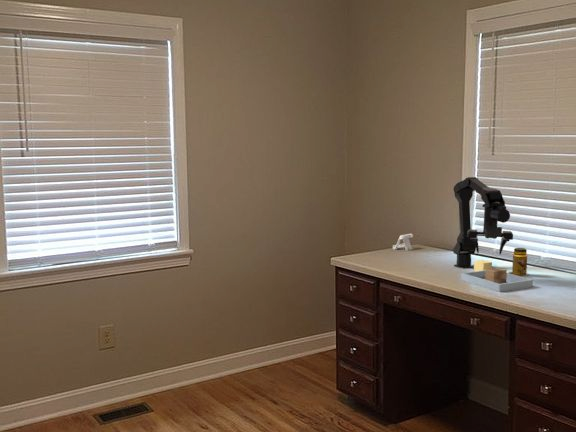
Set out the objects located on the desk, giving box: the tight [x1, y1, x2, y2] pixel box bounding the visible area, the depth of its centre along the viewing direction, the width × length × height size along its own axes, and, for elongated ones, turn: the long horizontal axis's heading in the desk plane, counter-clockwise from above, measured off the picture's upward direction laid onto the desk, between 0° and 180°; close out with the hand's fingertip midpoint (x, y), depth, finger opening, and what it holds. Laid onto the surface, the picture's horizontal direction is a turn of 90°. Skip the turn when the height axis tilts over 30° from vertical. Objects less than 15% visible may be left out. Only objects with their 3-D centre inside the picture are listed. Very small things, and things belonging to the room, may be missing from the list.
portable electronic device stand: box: [392, 233, 414, 252], centre depth 353 cm, size 9×8×8 cm
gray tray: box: [460, 270, 534, 293], centre depth 276 cm, size 23×18×3 cm
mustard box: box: [473, 259, 493, 272], centre depth 297 cm, size 6×5×5 cm
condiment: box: [507, 247, 529, 278], centre depth 291 cm, size 7×8×12 cm
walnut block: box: [484, 267, 508, 284], centre depth 276 cm, size 7×5×6 cm
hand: (488, 253), depth 287 cm, fingers open, 9 cm apart
